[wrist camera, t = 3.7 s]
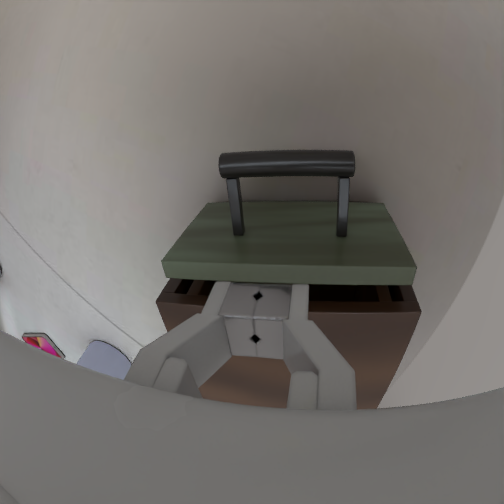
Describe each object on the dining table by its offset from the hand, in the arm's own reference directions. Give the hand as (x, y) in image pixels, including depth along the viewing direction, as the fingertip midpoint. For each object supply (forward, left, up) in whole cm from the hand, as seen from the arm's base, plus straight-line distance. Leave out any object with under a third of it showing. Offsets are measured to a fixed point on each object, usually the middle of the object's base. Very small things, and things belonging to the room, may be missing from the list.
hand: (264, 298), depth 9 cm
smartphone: (+55, +33, -14) cm, 65 cm away
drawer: (0, +7, -13) cm, 14 cm away
